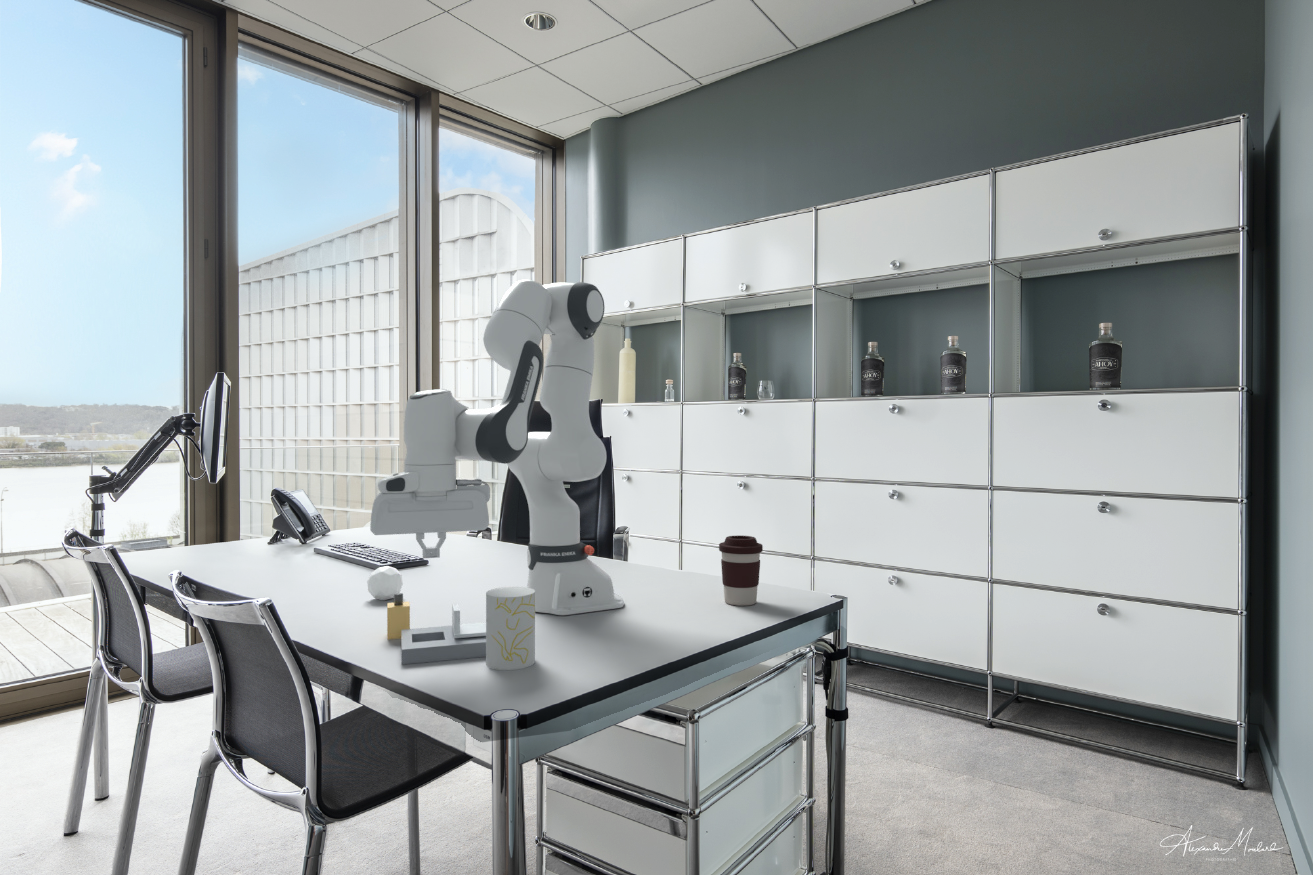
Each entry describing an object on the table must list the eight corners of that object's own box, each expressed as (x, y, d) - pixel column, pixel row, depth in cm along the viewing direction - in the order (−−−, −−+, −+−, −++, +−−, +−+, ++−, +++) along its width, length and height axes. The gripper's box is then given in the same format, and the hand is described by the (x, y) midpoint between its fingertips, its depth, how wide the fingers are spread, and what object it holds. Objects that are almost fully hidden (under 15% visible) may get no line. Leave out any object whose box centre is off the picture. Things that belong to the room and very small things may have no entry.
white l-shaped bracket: (451, 628, 136) (451, 603, 136) (487, 625, 138) (487, 600, 138) (454, 638, 130) (454, 612, 130) (492, 635, 132) (492, 609, 132)
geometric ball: (392, 608, 173) (413, 579, 176) (382, 604, 166) (404, 573, 168) (366, 591, 174) (387, 563, 177) (355, 586, 167) (377, 556, 170)
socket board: (401, 643, 136) (401, 629, 136) (484, 635, 141) (484, 622, 141) (401, 664, 124) (401, 649, 124) (492, 655, 129) (492, 641, 129)
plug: (409, 632, 144) (409, 591, 144) (409, 637, 140) (409, 595, 140) (387, 634, 143) (387, 592, 142) (387, 639, 139) (387, 597, 139)
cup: (493, 672, 120) (493, 599, 120) (480, 658, 127) (480, 589, 127) (541, 665, 124) (541, 594, 124) (526, 652, 131) (526, 585, 131)
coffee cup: (732, 595, 176) (732, 533, 176) (769, 601, 171) (770, 536, 170) (710, 603, 168) (710, 537, 168) (749, 609, 162) (749, 541, 162)
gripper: (488, 477, 138) (488, 551, 138) (370, 480, 131) (371, 557, 132) (492, 479, 132) (492, 557, 132) (369, 483, 125) (370, 564, 126)
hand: (431, 557), depth 132 cm, fingers closed
